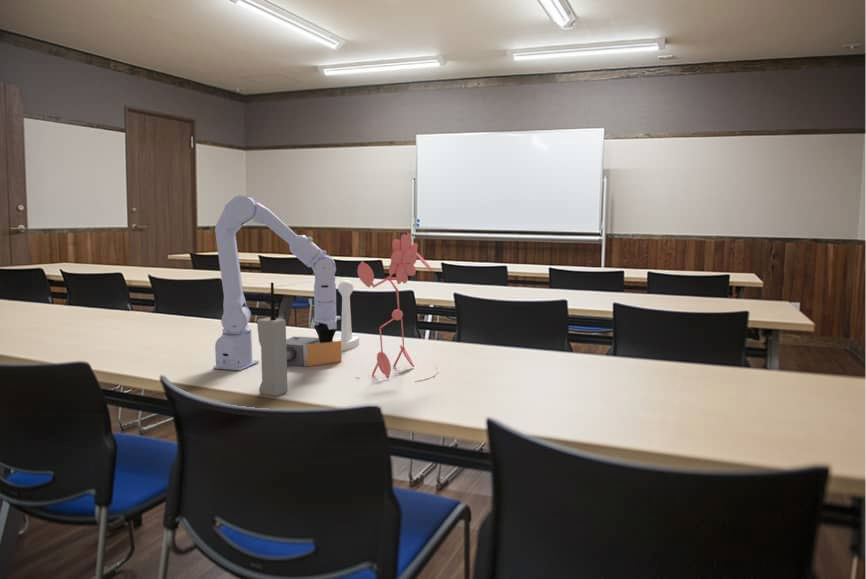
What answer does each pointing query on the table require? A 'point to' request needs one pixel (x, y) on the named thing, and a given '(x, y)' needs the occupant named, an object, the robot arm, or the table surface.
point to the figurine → (403, 267)
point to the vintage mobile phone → (273, 353)
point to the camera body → (298, 349)
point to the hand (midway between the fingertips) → (326, 351)
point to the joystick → (346, 318)
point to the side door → (322, 353)
